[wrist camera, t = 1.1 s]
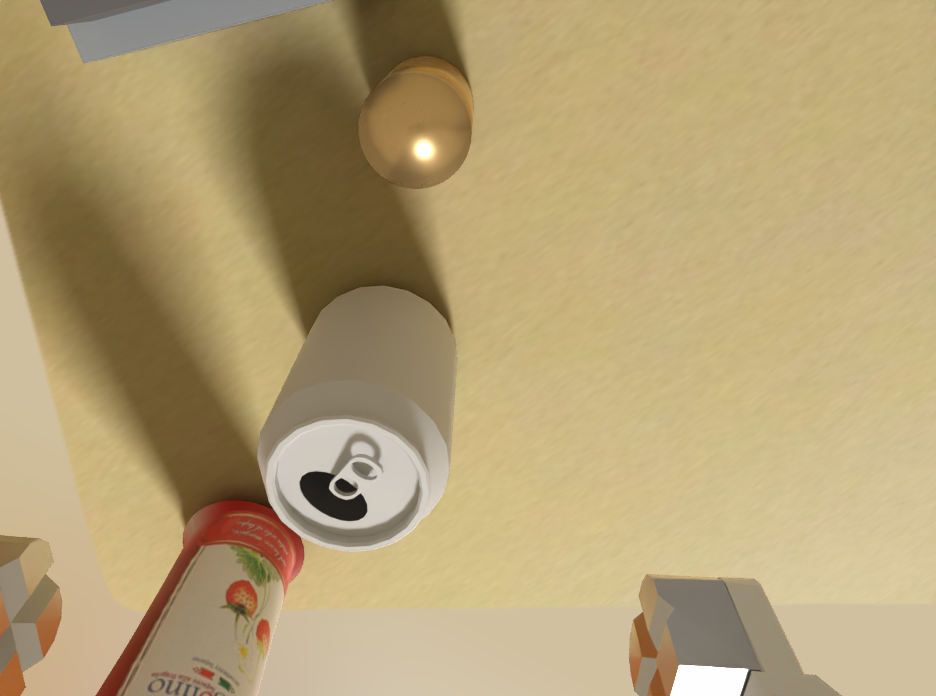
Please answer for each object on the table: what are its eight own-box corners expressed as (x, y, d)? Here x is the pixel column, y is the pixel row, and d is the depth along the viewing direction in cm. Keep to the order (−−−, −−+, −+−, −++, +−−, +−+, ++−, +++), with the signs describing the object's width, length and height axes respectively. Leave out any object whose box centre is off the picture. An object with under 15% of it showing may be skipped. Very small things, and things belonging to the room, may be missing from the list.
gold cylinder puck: (461, 45, 32) (456, 60, 27) (482, 143, 34) (482, 175, 29) (366, 68, 33) (343, 87, 27) (392, 163, 35) (376, 199, 29)
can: (282, 354, 39) (206, 499, 28) (369, 248, 36) (321, 364, 26) (398, 434, 41) (367, 598, 30) (488, 340, 38) (489, 482, 28)
